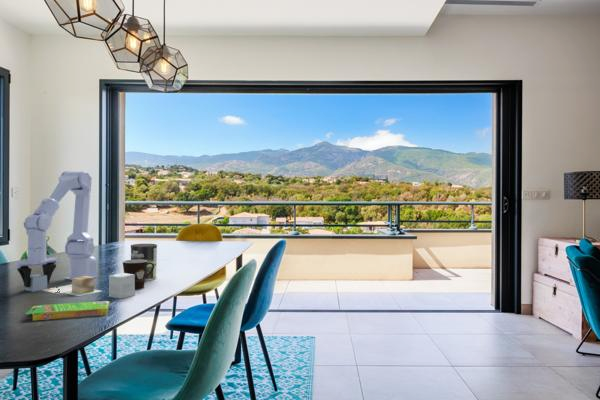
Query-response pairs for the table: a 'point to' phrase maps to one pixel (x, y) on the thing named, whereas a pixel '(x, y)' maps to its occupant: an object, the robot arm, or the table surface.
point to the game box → (69, 310)
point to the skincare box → (121, 285)
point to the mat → (83, 293)
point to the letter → (62, 289)
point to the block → (82, 284)
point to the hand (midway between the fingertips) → (36, 285)
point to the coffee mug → (137, 271)
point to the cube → (37, 283)
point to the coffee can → (146, 257)
